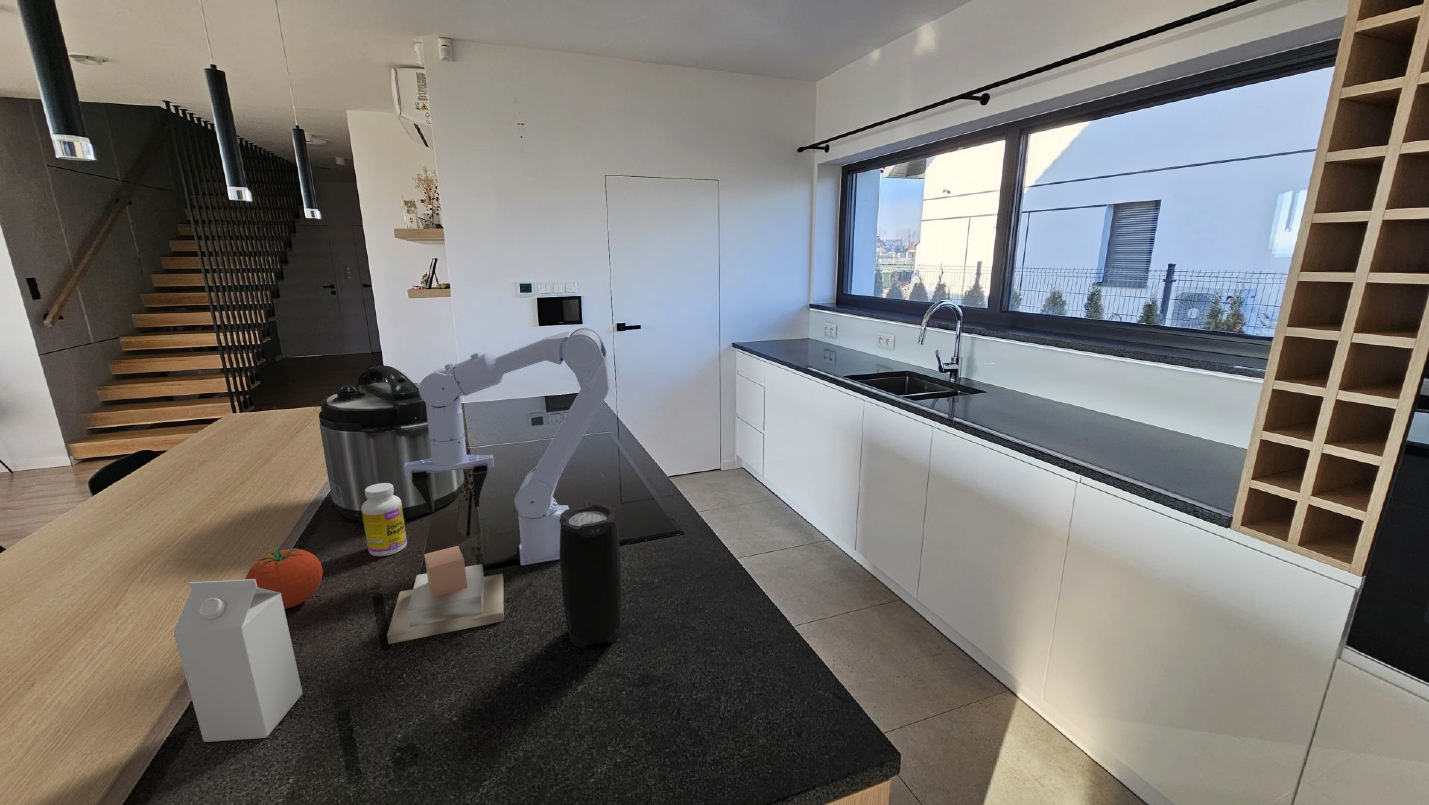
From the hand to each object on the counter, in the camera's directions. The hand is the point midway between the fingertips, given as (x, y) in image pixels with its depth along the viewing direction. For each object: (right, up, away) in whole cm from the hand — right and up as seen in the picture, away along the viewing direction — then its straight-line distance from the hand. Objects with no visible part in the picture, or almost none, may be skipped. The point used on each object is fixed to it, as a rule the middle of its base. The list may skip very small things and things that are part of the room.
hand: (454, 507), depth 106 cm
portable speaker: (+30, -16, -19) cm, 39 cm away
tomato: (-22, -14, -11) cm, 28 cm away
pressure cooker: (-24, -4, +29) cm, 38 cm away
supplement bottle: (-16, -9, +6) cm, 19 cm away
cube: (+5, -10, -14) cm, 18 cm away
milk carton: (-9, -20, -35) cm, 41 cm away
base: (+5, -14, -13) cm, 20 cm away
